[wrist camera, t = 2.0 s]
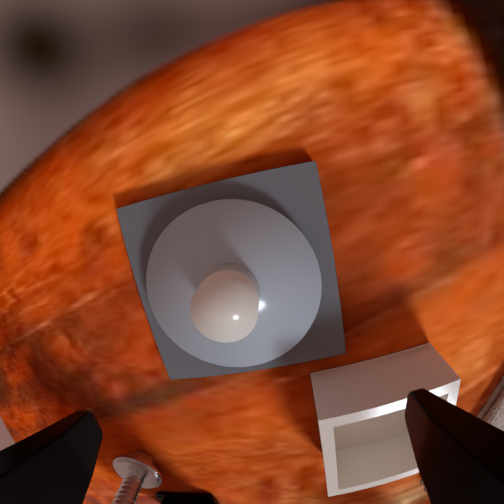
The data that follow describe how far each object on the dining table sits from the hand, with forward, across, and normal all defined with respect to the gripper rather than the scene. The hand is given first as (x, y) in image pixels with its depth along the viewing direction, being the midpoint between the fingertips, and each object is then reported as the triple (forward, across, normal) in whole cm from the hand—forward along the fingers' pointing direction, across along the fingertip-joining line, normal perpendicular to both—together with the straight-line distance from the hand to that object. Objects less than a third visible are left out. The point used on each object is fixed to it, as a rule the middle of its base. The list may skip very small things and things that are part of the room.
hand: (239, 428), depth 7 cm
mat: (+12, +2, 0) cm, 12 cm away
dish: (+12, -7, +11) cm, 18 cm away
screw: (+12, +14, +17) cm, 25 cm away
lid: (+11, +2, 0) cm, 11 cm away
